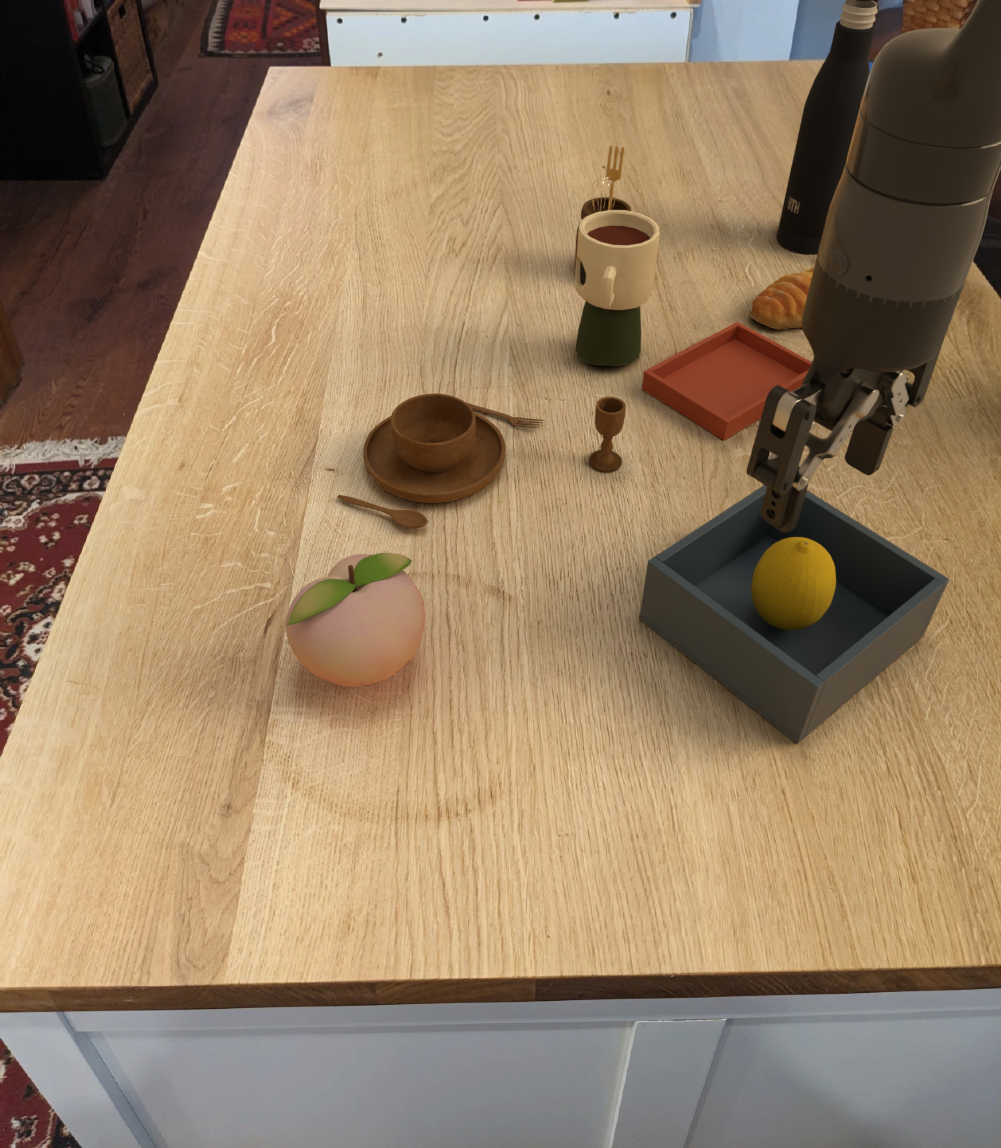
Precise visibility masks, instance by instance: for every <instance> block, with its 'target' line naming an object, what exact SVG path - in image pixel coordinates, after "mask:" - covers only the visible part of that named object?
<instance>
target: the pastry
mask: <svg viewBox="0 0 1001 1148" xmlns="http://www.w3.org/2000/svg"><path fill="white" fill-rule="evenodd" d="M814 267H815V266H812V267H810V268H809V269H805V270H804V271H800V272H796V273H790V274H786V275H783V276H780V277H779V278H778V279H777V280H775V281H773V283H771V284H769V285H768V286H767V287H766V288H765V289H764V290H762V291H761V293H759V294H758V295H757V297H755V298H754V299H753V301H752V302H751V310H750V314H749V317H750V319H753V320H754V321H756V323H759V324H761V325H764V326H765V327H768V328H770V329H775V330H776V331H778V330H782V331H783V330H784V331H785V330H788V329H801V328H802V315H803V311H804V307H805V303H806V299H807V295H808V291H809V287H810V283H811V279H812V275H813V271H814Z"/></svg>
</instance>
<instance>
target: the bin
mask: <svg viewBox="0 0 1001 1148" xmlns="http://www.w3.org/2000/svg"><path fill="white" fill-rule="evenodd" d="M766 489H767V486H765V485H764V484H762V485H761V486H760V487H759V488H757V489H756V490H754V491H753V492H751V493H749V494H748V495H746V496H745V497H744V498H742V499H740V500H739V501H737V502H736V503H734V504H732V505H731V506H730V507H728V508H726V509H725V510H723V511H722V512H720V513H719V514H717V515H716V516H714V517H713V518H711V519H710V520H708V521H707V522H705V523H704V524H702V525H700V526H699V527H697V528H696V529H695V530H693V531H691V532H690V533H688V534H687V535H685V536H683V537H682V538H681V539H679V540H678V541H676V542H674V543H673V544H671V545H670V546H669V547H667V548H665V549H664V550H662V551H660V552H659V553H658V554H656V555H655V556H653V557H652V558H649V560H647V564H646V571H645V577H644V583H643V584H644V585H643V590H642V597H641V603H640V609H639V617H638V619H639V620H640V621H641V622H642V623H644V624H645V625H646V626H647V627H649V628H650V629H651V630H652V631H654V632H655V634H658V636H660V637H661V638H662V639H664V640H665V641H666V642H667V643H669V644H670V645H671V646H672V647H674V648H675V649H676V650H678V651H679V652H680V653H681V654H682V655H684V657H686V658H688V659H689V660H690V661H691V662H693V663H694V664H695V665H697V667H699V668H700V669H702V670H703V671H704V672H705V673H706V674H708V675H709V676H710V677H712V678H713V679H714V680H715V681H717V682H718V683H719V684H720V685H721V686H723V687H724V688H726V689H727V690H728V691H729V692H730V693H732V695H734V696H735V697H737V698H738V699H739V700H740V701H742V702H743V703H744V704H745V705H747V706H748V707H749V708H751V709H752V710H753V711H754V712H756V713H757V714H758V715H760V716H761V717H762V718H763V719H765V720H766V721H767V722H768V723H769V724H771V725H772V726H773V727H774V728H776V729H777V730H778V731H780V732H781V733H782V734H783V735H785V736H786V737H787V738H788V739H790V740H791V741H792V742H794V743H795V745H798V744H799V743H800V742H802V741H803V740H804V739H805V738H807V736H809V735H810V734H811V733H812V732H813V731H814V730H816V729H817V728H818V727H819V726H820V725H822V724H823V723H824V722H825V721H826V720H827V719H829V718H830V717H831V716H832V715H833V714H835V713H836V712H837V711H838V710H839V709H841V708H842V707H843V706H844V705H846V703H848V702H849V701H850V700H851V699H852V698H853V697H855V696H856V695H857V694H858V693H859V692H860V691H861V690H863V689H864V688H865V687H866V686H867V685H869V684H870V683H871V682H872V681H874V679H875V678H877V677H878V676H879V675H881V673H883V672H884V671H885V670H886V669H887V668H889V667H890V666H891V665H892V664H893V663H894V662H895V661H897V660H898V659H899V658H901V656H902V655H904V654H905V653H906V652H908V651H909V649H911V648H912V647H914V645H916V643H918V642H919V641H920V640H921V639H923V638H924V635H925V633H926V632H927V630H928V628H929V627H928V626H929V625H930V623H931V620H932V619H933V616H934V614H935V612H936V610H937V608H938V606H939V603H940V601H941V599H942V597H943V594H944V593H945V591H946V588H947V586H948V584H949V581H950V578H949V577H948V576H945V575H944V574H942V572H941V573H940V572H939V571H937V570H936V569H934V568H933V567H931V566H929V565H927V564H926V563H925V562H923V561H922V560H920V559H918V558H917V557H915V556H913V555H912V554H910V553H908V552H907V551H905V550H903V549H902V548H901V547H899V546H897V545H896V544H894V543H893V542H891V541H889V540H887V538H884V537H883V536H881V535H880V534H878V533H876V532H875V531H873V530H872V529H871V528H868V527H867V526H865V525H864V524H862V523H860V522H858V521H857V520H856V519H854V518H852V517H851V516H850V515H848V514H846V513H844V512H843V511H841V510H840V509H838V508H836V507H835V506H833V505H832V504H830V503H828V502H827V501H825V500H824V499H823V498H820V497H819V496H817V495H815V494H814V493H812V492H811V491H809V490H807V491H806V495H805V498H804V502H803V505H802V508H801V512H800V515H799V518H798V522H797V525H796V527H795V528H793V529H792V530H790V531H789V532H787V533H783V532H781V531H780V530H778V529H777V528H775V527H773V526H772V525H770V524H769V523H767V522H766V521H765V520H764V519H763V518H762V517H761V508H762V505H763V500H764V497H765V493H766ZM791 537H802V538H807V539H810V540H813V541H815V542H817V543H819V544H820V545H821V546H822V547H824V548H825V549H826V551H827V552H828V553H829V554H830V556H831V558H832V560H833V562H834V565H835V573H836V587H835V592H834V595H833V599H832V602H831V604H830V606H829V608H828V609H827V611H826V612H825V613H824V615H823V616H822V617H821V618H820V619H819V620H818V621H817V622H815V623H814V624H812V625H811V626H809V627H806V628H803V629H800V630H783V629H779V628H776V627H774V626H772V625H770V624H769V623H767V622H766V621H765V620H764V619H763V618H762V617H761V616H760V615H759V614H758V612H757V610H756V608H755V606H754V604H753V600H752V594H751V584H752V578H753V573H754V570H755V568H756V566H757V564H758V562H759V561H760V559H761V557H762V556H763V554H764V553H765V552H766V550H768V549H769V548H770V547H771V546H772V545H773V544H775V543H776V542H778V541H780V540H783V539H786V538H791Z"/></svg>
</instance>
